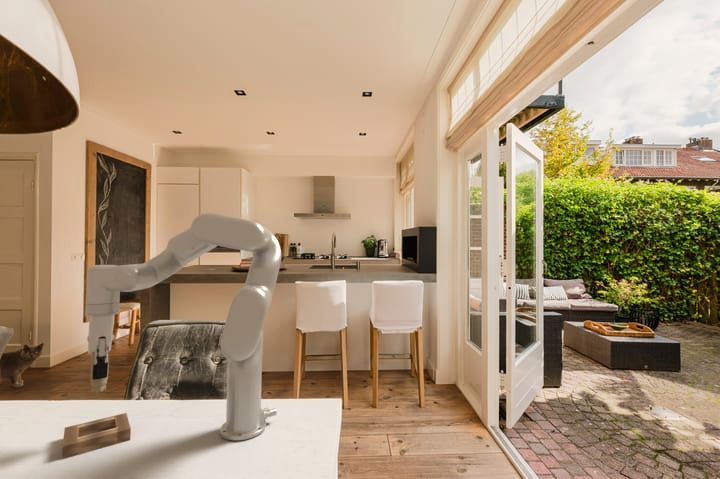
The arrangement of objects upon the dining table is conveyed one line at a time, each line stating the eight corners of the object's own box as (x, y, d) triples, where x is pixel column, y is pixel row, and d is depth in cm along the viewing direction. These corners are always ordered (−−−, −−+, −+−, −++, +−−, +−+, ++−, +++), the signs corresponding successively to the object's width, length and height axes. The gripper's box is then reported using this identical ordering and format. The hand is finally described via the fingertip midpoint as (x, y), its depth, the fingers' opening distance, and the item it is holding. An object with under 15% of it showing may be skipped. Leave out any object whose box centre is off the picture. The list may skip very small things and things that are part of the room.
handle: (99, 395, 90) (102, 338, 91) (80, 393, 91) (83, 337, 92) (116, 388, 95) (118, 334, 95) (97, 386, 96) (100, 333, 97)
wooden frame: (126, 423, 101) (126, 412, 101) (130, 439, 92) (130, 427, 92) (64, 438, 92) (64, 426, 93) (61, 459, 83) (62, 445, 83)
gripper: (85, 306, 98) (82, 370, 97) (85, 314, 85) (81, 388, 84) (117, 304, 103) (114, 365, 102) (121, 311, 90) (118, 381, 89)
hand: (99, 375), depth 93 cm, fingers closed on handle, 4 cm apart
